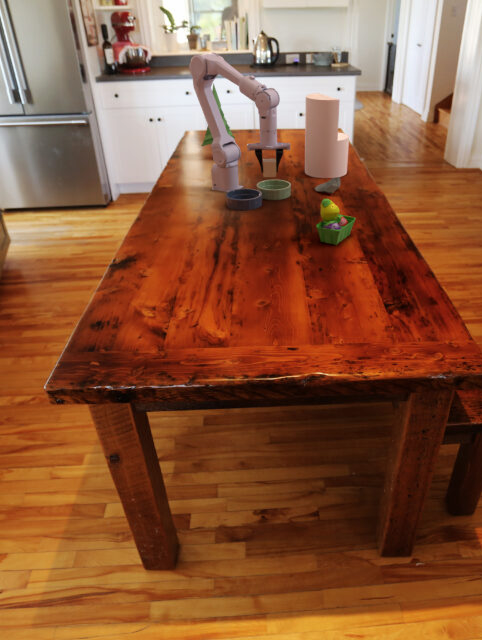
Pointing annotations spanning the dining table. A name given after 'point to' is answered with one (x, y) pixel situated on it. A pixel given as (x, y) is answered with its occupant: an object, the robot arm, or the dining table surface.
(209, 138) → the decorative tree
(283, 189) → the sage bowl
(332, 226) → the fruit basket
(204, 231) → the dining table surface
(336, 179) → the stone
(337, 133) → the cylinder
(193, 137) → the dining table surface
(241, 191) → the slate bowl
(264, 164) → the block
